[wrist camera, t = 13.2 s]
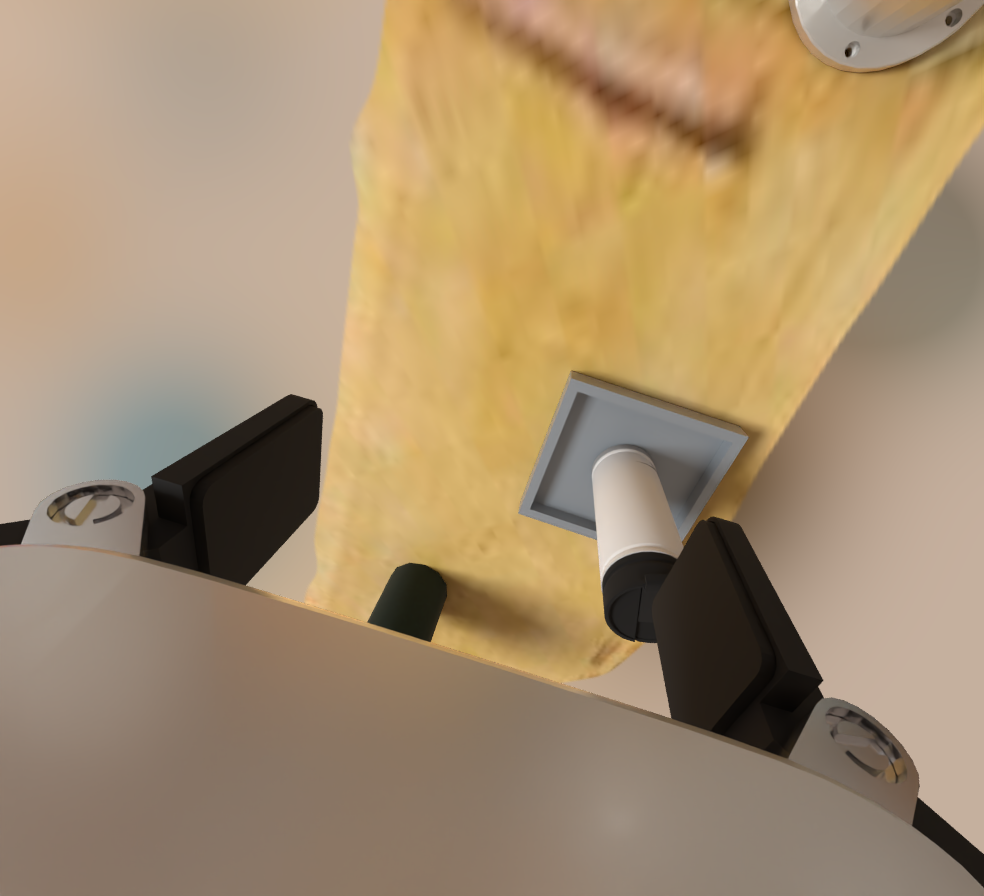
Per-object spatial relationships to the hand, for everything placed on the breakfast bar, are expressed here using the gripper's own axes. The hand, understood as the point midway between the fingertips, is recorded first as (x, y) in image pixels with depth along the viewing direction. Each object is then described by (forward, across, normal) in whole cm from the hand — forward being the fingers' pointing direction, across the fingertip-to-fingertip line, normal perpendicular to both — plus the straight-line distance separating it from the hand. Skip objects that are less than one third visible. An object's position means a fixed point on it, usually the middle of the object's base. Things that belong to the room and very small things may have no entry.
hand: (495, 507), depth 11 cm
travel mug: (+33, -11, +14) cm, 37 cm away
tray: (+33, -11, +14) cm, 38 cm away
